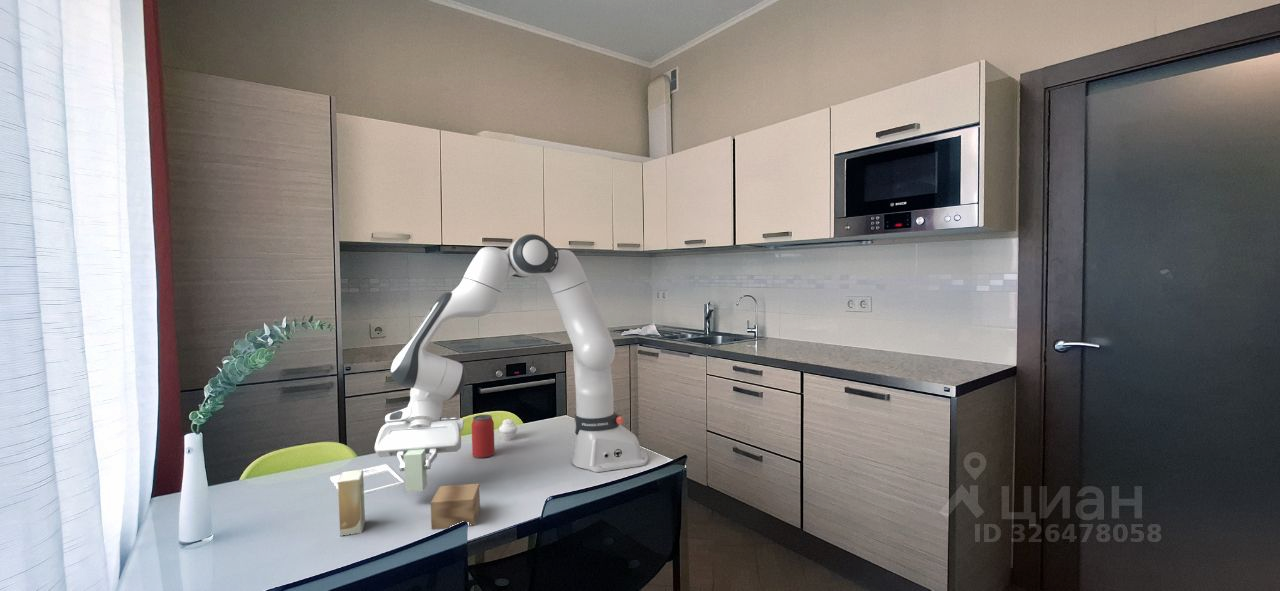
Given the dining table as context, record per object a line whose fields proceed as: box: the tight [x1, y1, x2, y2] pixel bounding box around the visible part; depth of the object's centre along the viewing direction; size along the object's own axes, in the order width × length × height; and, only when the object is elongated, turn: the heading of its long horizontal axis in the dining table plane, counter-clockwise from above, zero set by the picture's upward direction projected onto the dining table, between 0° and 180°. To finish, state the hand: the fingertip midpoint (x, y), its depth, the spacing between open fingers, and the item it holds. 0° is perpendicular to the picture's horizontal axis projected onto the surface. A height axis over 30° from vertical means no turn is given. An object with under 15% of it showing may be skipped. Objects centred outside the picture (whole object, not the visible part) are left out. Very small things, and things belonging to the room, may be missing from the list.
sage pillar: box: [403, 449, 428, 493], centre depth 130 cm, size 4×4×9 cm
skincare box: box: [337, 469, 366, 537], centre depth 118 cm, size 6×4×12 cm
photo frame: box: [329, 463, 405, 494], centre depth 146 cm, size 15×1×18 cm
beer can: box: [471, 414, 496, 459], centre depth 165 cm, size 7×7×12 cm
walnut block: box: [430, 483, 481, 530], centre depth 122 cm, size 9×9×6 cm
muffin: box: [498, 418, 518, 441], centre depth 180 cm, size 6×6×7 cm
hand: (414, 469), depth 130 cm, fingers closed on sage pillar, 4 cm apart
